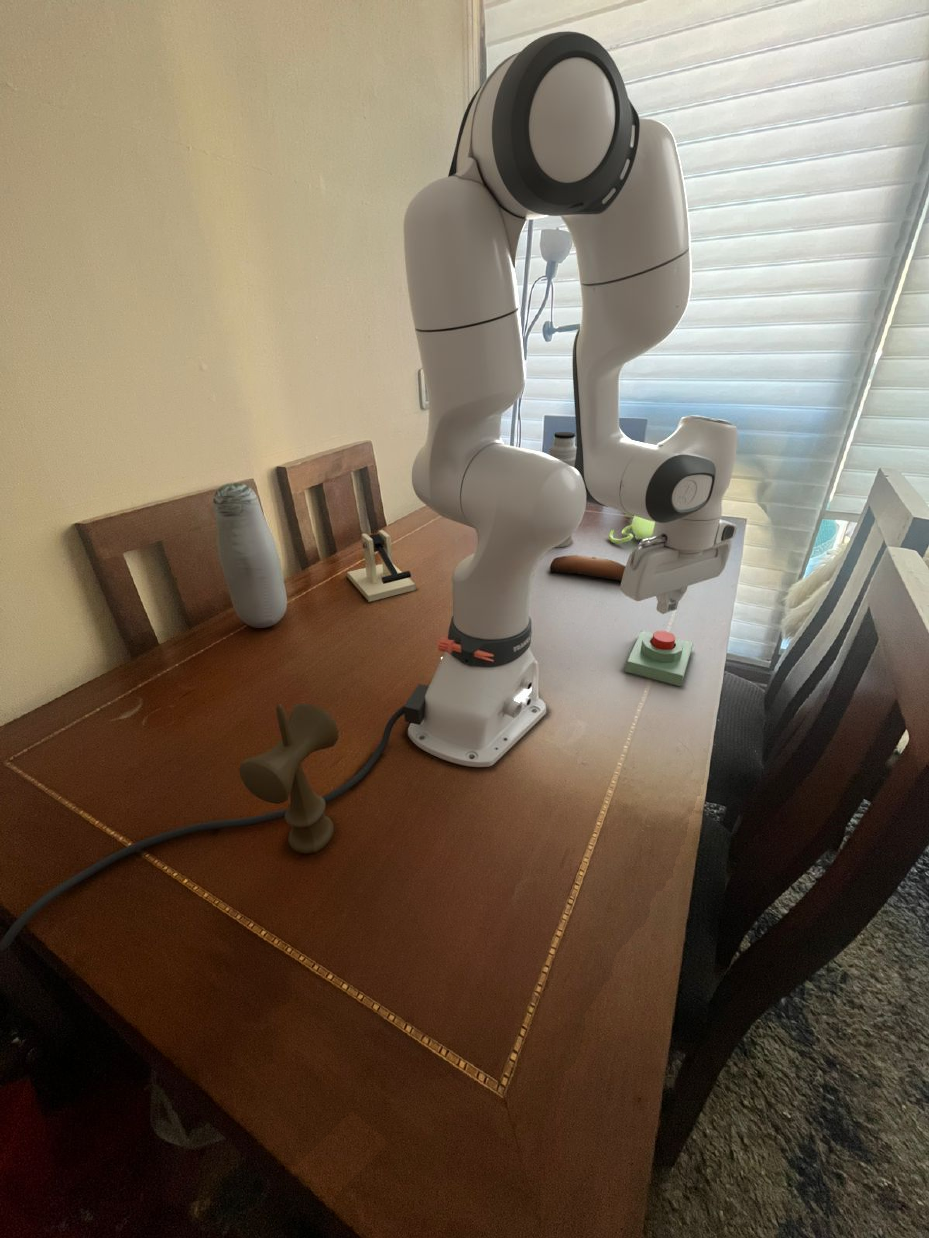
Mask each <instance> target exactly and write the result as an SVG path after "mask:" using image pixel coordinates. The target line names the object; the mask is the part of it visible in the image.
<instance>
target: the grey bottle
mask: <svg viewBox="0 0 929 1238" xmlns="http://www.w3.org/2000/svg"><path fill="white" fill-rule="evenodd" d="M212 504H213V510H214V517H215V524H216V545H217V554H218V558H219V563H220V567H221V570H222V574H223V577H224V581H225V583H226V586H227V590H228V594H229V597H230V600H231V603H232V606H233V609H234V611H235V614H236V615H237V617H238V619H240V621H241V622H243V623H245V624H246V625H248V626H249V627H252V628H255V629H265V628H270V627H273V626H274V625H276V624H277V623H279V622H280V621H281V620H282V619H283V617H284V616H285V614H286V611H287V608H288V598H287V591H286V590H287V589H286V585H285V581H284V580H285V579H284V576H283V571H282V570H283V569H282V565H281V561H280V554H279V550H278V547H277V543H276V540H275V538H274V536H273V533H272V531H271V529H270V527H269V525H268V523H267V521H266V518H265V516H264V512H263V510H262V507H261V504H260V501H259V498H258V496H257V494H256V493H255V491H254V490H253V489H252V488H251V487H250V486H248V485H247V484H244V483H240V482H232V483H227V484H223V485H222V486H220V487H219V488H217V490H216V491H215V493H214V495H213V503H212Z"/></svg>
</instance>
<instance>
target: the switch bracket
mask: <svg viewBox="0 0 929 1238" xmlns="http://www.w3.org/2000/svg"><path fill="white" fill-rule="evenodd" d="M378 534H380V536H381V538H382V539H383V541H384V550H385V552H386V554H387V555H388V557H389V559H390V561H391V562H392V564H393V566H394V568H395V569H396V571H397V573H401V572H402V571H401V569H399V568H398V567H397V566H396V565H395V564H394V562H393V561H394V560H393V552H392V541H391V540H392V539H391V535H389V533H387V532H386V531H385V530H384V529H381V530H378ZM361 541H362V549H363V558H364V566H365V567H363V568H359V569H355V570H350V571H347V578H348V579H349V581H350V582H351V583H352V585H354V586H355V587H356V589H357V590H358V591H359V592H360V593H361V595H362V596H363V597H364V598H365V599H366V600H367V602H369V603H370V602H375V601H378V600H381V599H386V598H390V597H394V596H396V595H401V594H404V593H405V594H406V593H409V592H413V591H416V583H415V582H414V581H412V579H410V578H406V579H402V580H398V581H394V582H389V583H385V584H383V582H382V577H385V576H389V575H391V574H390V572H389V570H388V568H387V567H386V565H385V563H384V561H383V559H382V558H381V563H380V564H377V563H376V557H375V556H376V555H375V552H374V546H373V539H371V538H370V535H368V534H367V533H361Z"/></svg>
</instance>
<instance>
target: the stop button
mask: <svg viewBox="0 0 929 1238" xmlns="http://www.w3.org/2000/svg"><path fill="white" fill-rule="evenodd" d="M653 633H654V634H653V638H652V642H651V643H652V645H653V646H654V647H656V648H658V649H662V650H671V649H673V647H674V643H675V639H676V638H677V637H676V636H675V635H674V634H673V633H671V632H670V631H666V630H656V631H654V632H653ZM675 637H676V638H675Z"/></svg>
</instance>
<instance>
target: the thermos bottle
mask: <svg viewBox="0 0 929 1238" xmlns="http://www.w3.org/2000/svg"><path fill="white" fill-rule="evenodd" d="M553 434H554V435H553V436H554V438H553V444H552V445H550V447H549V450H548V452H549V453H548V455H550V456H552V457H555V458H557V459H559V460H561V461H563V462H565V463H566V464H568V465H570V466H572V467H574V465H575V458H576V448H577V445H575V437H576V432H572V431H557V432H555V433H553ZM572 537H573V534H572V535H571V536H570V537H569V538H568V539H567V540H566V541H564V542H563V543H561V544H560V545H558V546H556V547H555V548H563V547H569V546H570V545H571V544H572Z"/></svg>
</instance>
